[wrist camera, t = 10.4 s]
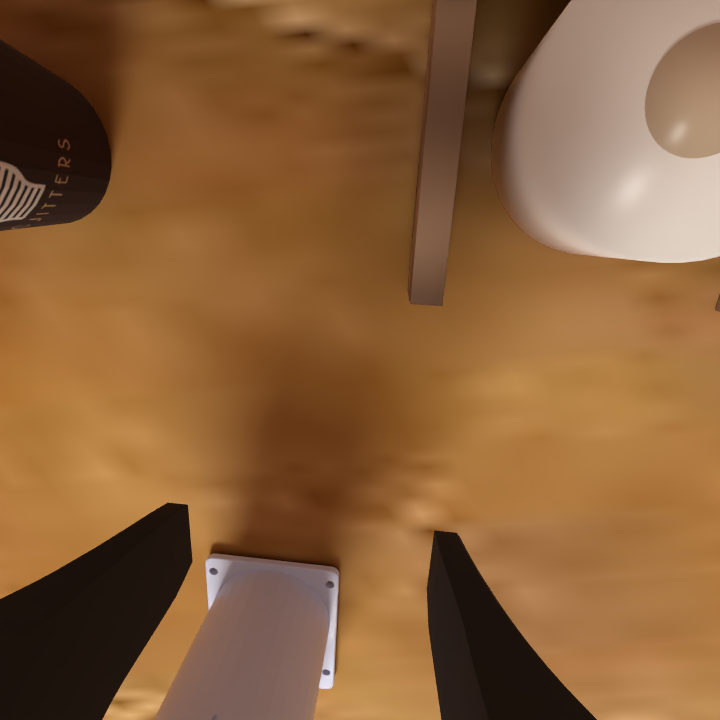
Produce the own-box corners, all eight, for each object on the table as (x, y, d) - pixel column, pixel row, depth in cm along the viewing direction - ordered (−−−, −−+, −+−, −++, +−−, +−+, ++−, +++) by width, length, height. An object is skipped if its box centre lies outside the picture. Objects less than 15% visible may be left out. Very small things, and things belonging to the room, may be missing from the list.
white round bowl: (684, 261, 18) (822, 273, 12) (476, 247, 18) (512, 253, 13) (755, 14, 15) (975, -123, 9) (509, 8, 16) (575, -126, 10)
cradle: (748, 312, 18) (873, 339, 13) (403, 290, 19) (405, 307, 14) (867, -44, 14) (1099, -182, 10) (431, -47, 15) (446, -173, 11)
